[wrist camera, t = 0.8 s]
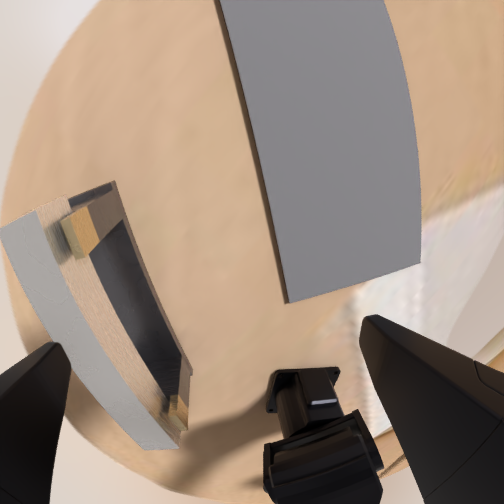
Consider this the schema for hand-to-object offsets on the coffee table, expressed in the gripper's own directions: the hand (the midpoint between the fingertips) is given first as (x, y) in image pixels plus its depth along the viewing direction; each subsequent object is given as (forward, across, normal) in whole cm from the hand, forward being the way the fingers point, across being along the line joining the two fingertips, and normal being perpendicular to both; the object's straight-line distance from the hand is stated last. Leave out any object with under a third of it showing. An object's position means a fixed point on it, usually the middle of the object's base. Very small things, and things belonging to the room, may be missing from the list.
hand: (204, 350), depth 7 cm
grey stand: (+13, +7, +5) cm, 16 cm away
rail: (+8, +7, +5) cm, 12 cm away
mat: (+13, -9, -6) cm, 17 cm away
